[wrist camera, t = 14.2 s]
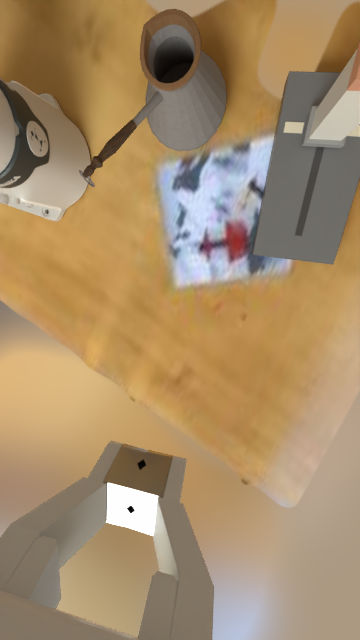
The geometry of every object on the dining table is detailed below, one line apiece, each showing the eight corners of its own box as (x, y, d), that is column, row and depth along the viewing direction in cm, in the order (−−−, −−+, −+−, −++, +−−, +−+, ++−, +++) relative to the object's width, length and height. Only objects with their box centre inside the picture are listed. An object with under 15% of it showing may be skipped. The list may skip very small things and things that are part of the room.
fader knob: (301, 145, 33) (350, 82, 20) (309, 110, 32) (367, 17, 19) (340, 148, 33) (418, 83, 20) (350, 111, 31) (440, 17, 18)
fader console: (251, 254, 41) (252, 254, 39) (285, 83, 34) (289, 70, 31) (326, 263, 40) (333, 264, 37) (379, 86, 32) (391, 73, 30)
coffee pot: (184, 44, 35) (156, -92, 21) (243, 103, 35) (254, 11, 21) (103, 177, 42) (40, 144, 28) (153, 224, 43) (117, 214, 28)
